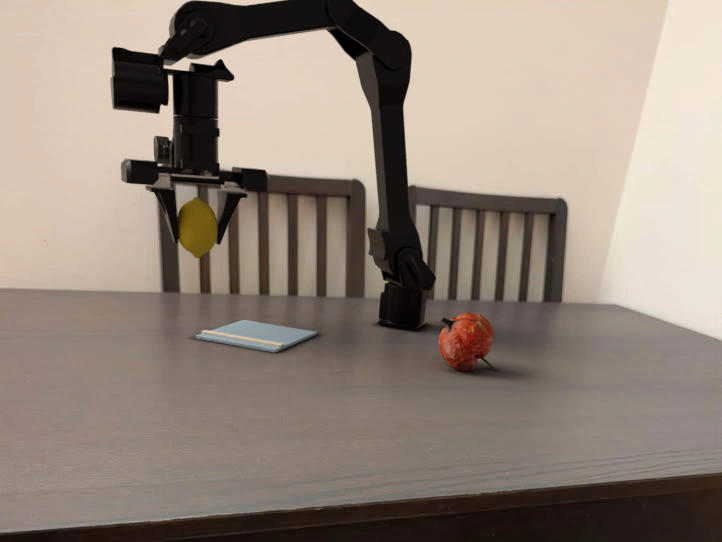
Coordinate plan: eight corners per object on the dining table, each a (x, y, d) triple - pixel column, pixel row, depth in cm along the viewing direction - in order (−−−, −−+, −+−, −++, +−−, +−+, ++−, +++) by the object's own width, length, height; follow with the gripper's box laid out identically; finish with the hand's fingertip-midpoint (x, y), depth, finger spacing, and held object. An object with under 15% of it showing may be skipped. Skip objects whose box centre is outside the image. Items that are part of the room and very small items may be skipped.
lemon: (175, 254, 103) (174, 194, 99) (215, 256, 104) (215, 196, 101) (178, 260, 98) (177, 197, 95) (220, 262, 100) (220, 200, 96)
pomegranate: (471, 376, 99) (419, 328, 96) (511, 338, 96) (459, 287, 93) (477, 398, 93) (421, 347, 89) (520, 358, 90) (464, 304, 87)
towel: (316, 334, 105) (317, 329, 105) (275, 352, 94) (275, 347, 93) (243, 322, 108) (243, 317, 108) (195, 338, 97) (194, 333, 97)
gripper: (248, 125, 104) (247, 238, 111) (112, 111, 97) (119, 234, 103) (272, 124, 95) (269, 248, 102) (124, 109, 88) (130, 244, 94)
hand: (197, 243), depth 100 cm, fingers closed on lemon, 5 cm apart
